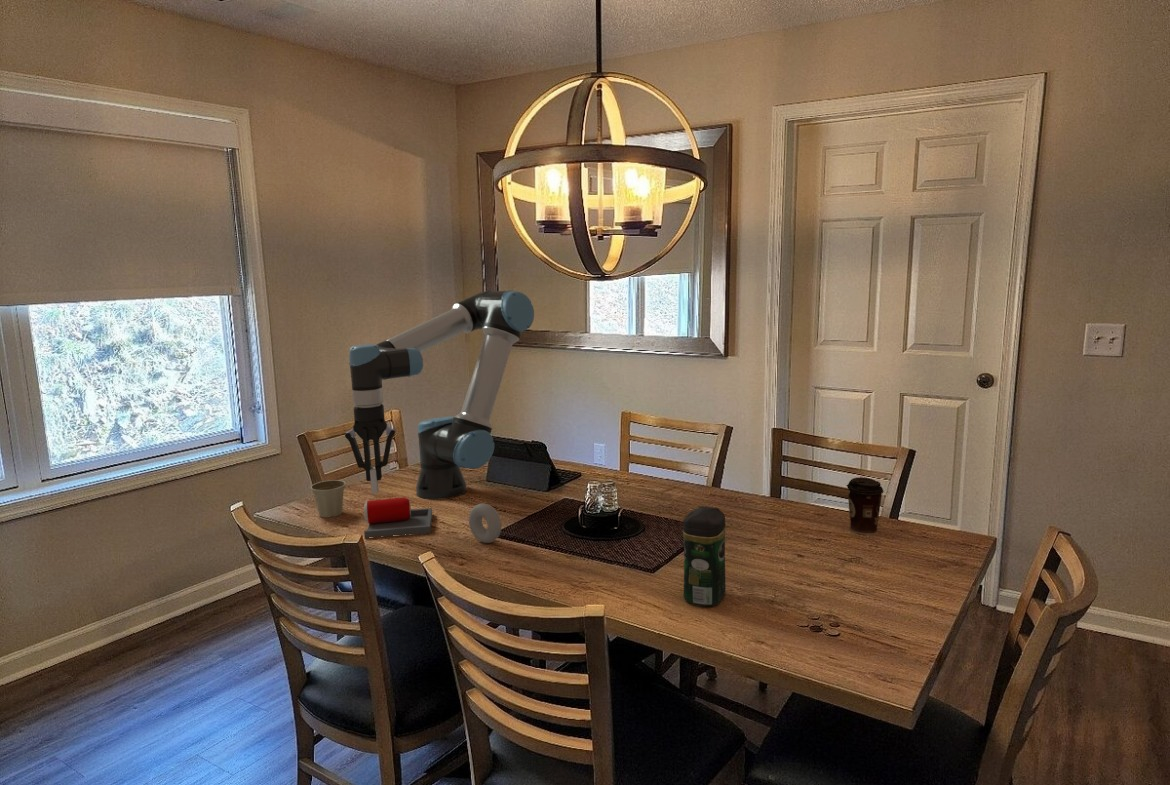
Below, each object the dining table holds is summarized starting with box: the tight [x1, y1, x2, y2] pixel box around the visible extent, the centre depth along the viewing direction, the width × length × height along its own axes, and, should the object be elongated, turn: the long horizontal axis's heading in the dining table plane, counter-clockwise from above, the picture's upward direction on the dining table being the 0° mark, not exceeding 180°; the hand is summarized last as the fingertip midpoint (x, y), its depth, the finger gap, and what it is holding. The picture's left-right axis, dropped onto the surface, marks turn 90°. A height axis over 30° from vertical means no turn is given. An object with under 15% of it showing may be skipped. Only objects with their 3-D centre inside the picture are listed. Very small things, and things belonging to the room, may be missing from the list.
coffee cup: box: [846, 477, 884, 536], centre depth 182 cm, size 9×8×13 cm
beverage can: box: [363, 496, 412, 525], centre depth 196 cm, size 6×6×12 cm
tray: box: [363, 507, 433, 540], centre depth 194 cm, size 16×15×2 cm
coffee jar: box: [682, 505, 727, 607], centre depth 147 cm, size 10×8×19 cm
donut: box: [468, 503, 502, 544], centre depth 180 cm, size 10×4×10 cm, turn 54°
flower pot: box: [309, 479, 347, 519], centre depth 204 cm, size 9×9×9 cm
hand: (375, 492), depth 192 cm, fingers closed
